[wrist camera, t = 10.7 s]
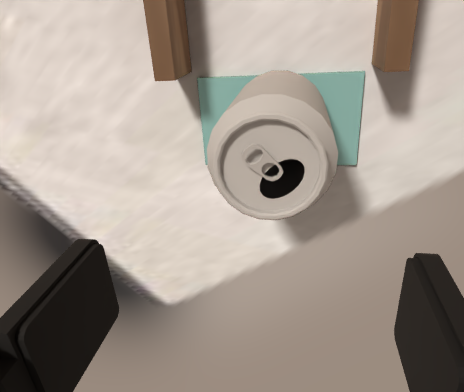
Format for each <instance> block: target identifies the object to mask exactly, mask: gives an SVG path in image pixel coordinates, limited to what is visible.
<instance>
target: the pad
mask: <svg viewBox="0 0 464 392" xmlns="http://www.w3.org/2000/svg"><path fill="white" fill-rule="evenodd" d="M299 75H302V76H304V77H305V78H306V79H308V80H309V81H310V82H312V83H313V84H314V85H315V86H316V88H317V89H318V91H319V92H320V94H321V95H322V97H323V99H324V102H325V106H326V109H327V113H328V116H329V119H330V123H331V126H332V130H333V133H334V137H335V141H336V146H337V150H338V159H337V165H356V163H357V152H358V141H359V130H360V119H361V108H362V97H363V86H364V75H365V71H354V72H330V73H305V74H299ZM257 76H258V75H256V76H231V77H207V78H197V81H198V91H199V102H200V112H201V122H202V132H203V142H204V153H205V163H206V165H208V162H207V146H208V142H209V139H210V135H211V132H212V129H213V128H214V126H215V125H216V123H217V122H218V121H219V119H220V118H221V116H222V115H223V113H224V112H225V111H226V109H227V108H228V107H229V106H230V104H231V103H232V102H233V100H234V99H235V98H236V96H237V95H238V94H239V93H240V91H241V90H242V89H243V87H244V86H245V85H246V84H247V83H249V82H250V81H251V80H253V79H254V78H255V77H257Z"/></svg>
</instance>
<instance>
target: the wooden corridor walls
mask: <svg viewBox="0 0 464 392" xmlns="http://www.w3.org/2000/svg"><path fill="white" fill-rule="evenodd" d="M143 2H144V9H145V16H146V23H147V30H148V36H149V43H150V50H151V57H152V64H153V71H154V78H155V81H172V80H177V79H179V78H181V77H182V76H184V75H186V74H188V73H190V72H192V71H191V61H190V52H189V42H188V32H187V23H186V13H185V3H184V0H143ZM418 3H419V0H378V5H377V15H376V25H375V36H374V46H373V56H372V64H373V65H374V66H376V67H377V68H379V69H380V70H382V71H383V72H397V71H409V67H410V60H411V53H412V45H413V38H414V31H415V24H416V17H417V10H418Z"/></svg>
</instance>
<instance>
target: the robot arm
mask: <svg viewBox="0 0 464 392" xmlns="http://www.w3.org/2000/svg"><path fill="white" fill-rule="evenodd" d="M118 313H119V305H118V302H117V298H116V294H115V290H114V287H113V282H112V279H111V275H110V271H109V267H108V263H107V259H106V255H105V252H104V248H103V246H102V245H101V244H99V243H98V241H97V240H92V239H78V240H76V241H75V242H74V243H73V244H72V245H71V246H70V247H69V248H68V249H67V250H66V251H65V252H64V253H63V254H62V255H61V256H60V257H59V258H58V259H57V260H56V262H54V264H52V265H51V266H50V268H49V269H48V270H47V271H46V272H45V273H44V274H43V275H42V276H41V277H40V278H39V279H38V280H37V281H36V282H35V283H34V284H33V285H32V286H31V287H30V288H29V289H28V290H27V291H26V292H25V293H24V294H23V295H22V296H21V297H20V298H19V299H18V300H17V301H16V302H15V303H14V304H13V305H12V307H10V308H9V310H7V311H6V313H5V314H4V315H3V316H2V317H1V318H0V392H73V391H74V389H75V387H76V385H77V384H78V382H79V381H80V379H81V377H82V376H83V374H84V372H85V370H86V369H87V367H88V365H89V364H90V362H91V360H92V359H93V357H94V355H95V354H96V352H97V350H98V349H99V347H100V345H101V344H102V342H103V340H104V339H105V337H106V335H107V334H108V332H109V330H110V329H111V327H112V325H113V324H114V322H115V320H116V319H117V317H118ZM394 335H395V341H396V345H397V348H398V351H399V355H400V359H401V362H402V366H403V369H404V373H405V376H406V380H407V383H408V387H409V390H410V392H464V298H463V296H462V295H461V292H460V291H459V289H458V287H457V285H456V284H455V282H454V280H453V278H452V277H451V275H450V273H449V271H448V270H447V268H446V266H445V264H444V263H443V261H442V259H441V257H440V256H439V255H438V254H425V253H424V254H423V253H416V254H415V255H414V257H413V258H408V259H407V261H406V267H405V273H404V278H403V283H402V289H401V294H400V300H399V306H398V311H397V317H396V322H395V328H394Z"/></svg>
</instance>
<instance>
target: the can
mask: <svg viewBox="0 0 464 392" xmlns="http://www.w3.org/2000/svg"><path fill="white" fill-rule="evenodd" d="M337 159H338V150H337V146H336V141H335V137H334V133H333V130H332V126H331V123H330V119H329V116H328V113H327V109H326V106H325V102H324V99H323V97H322V95H321V94H320V92H319V91H318V89H317V88H316V86H315V85H314V84H313V83H312V82H310V81H309V80H308V79H306V78H305V77H304V76H302V75H299V74H296V73H293V72H290V71H270V72H267V73H264V74H261V75H258V76H257V77H255V78H254V79H253V80H251V81H250V82H249V83H247V84H246V85H245V86H244V87H243V89H242V90H241V91H240V93H239V94H238V95H237V96H236V98H235V99H234V100H233V102H232V103H231V104H230V106H229V107H228V108H227V109H226V111H225V112H224V113H223V115H222V116H221V118H220V119H219V121H218V122H217V123H216V125H215V126H214V128H213V129H212V132H211V135H210V139H209V142H208V146H207V162H208V169H209V172H210V174H211V177H212V179H213V182H214V185H215V186H216V187H217V188H218V190H219V192H220V193H221V194H222V196H223V197H224V198H225V199H226V201H227V202H228V203H229V204H230V205H231V206H233V207H234V208H236V209H237V210H239V211H240V212H241V213H243V214H246V215H249V216H251V217H254V218H257V219H265V220H279V219H284V218H288V217H293V216H295V215H296V214H298V213H300V212H302V211H304V210H305V209H307V208H308V207H310V206H312V205H313V204H315V203H316V202H317V201H318V200H319V199H320V198H321V197H322V195H323V194H324V193H325V192H326V191H327V190H328V188H329V186H330V184H331V182H332V180H333V178H334V176H335V174H336V169H337Z"/></svg>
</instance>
